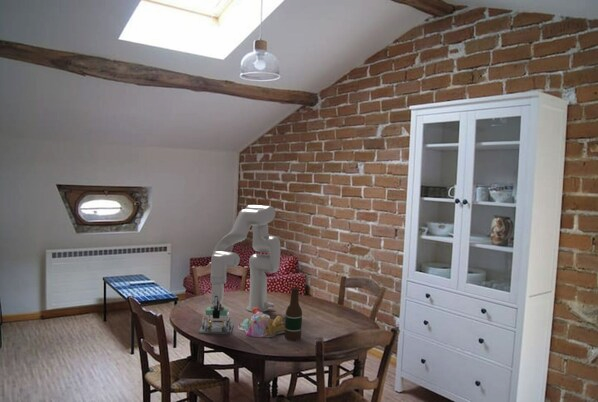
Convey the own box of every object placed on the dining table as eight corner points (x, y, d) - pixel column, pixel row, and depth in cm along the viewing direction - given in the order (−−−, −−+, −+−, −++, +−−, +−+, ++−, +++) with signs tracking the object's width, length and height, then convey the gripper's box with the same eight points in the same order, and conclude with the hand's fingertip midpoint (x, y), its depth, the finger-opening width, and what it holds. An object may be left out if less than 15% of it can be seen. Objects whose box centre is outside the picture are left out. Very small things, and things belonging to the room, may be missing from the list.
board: (228, 312, 221) (228, 306, 221) (226, 315, 215) (226, 309, 215) (207, 311, 220) (207, 305, 220) (205, 315, 214) (205, 308, 214)
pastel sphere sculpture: (294, 327, 227) (295, 309, 226) (273, 342, 205) (274, 322, 205) (251, 319, 237) (252, 302, 236) (227, 332, 215) (227, 313, 215)
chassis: (233, 325, 224) (233, 314, 224) (230, 334, 212) (231, 321, 212) (203, 324, 224) (203, 313, 223) (198, 333, 212) (199, 320, 211)
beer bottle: (284, 335, 214) (286, 285, 213) (300, 335, 215) (302, 285, 214) (285, 341, 206) (287, 289, 205) (301, 341, 207) (304, 289, 206)
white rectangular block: (228, 318, 235) (229, 312, 235) (228, 321, 231) (228, 314, 231) (213, 318, 235) (213, 311, 234) (212, 320, 231) (212, 313, 231)
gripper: (213, 275, 225) (212, 310, 226) (207, 283, 208) (206, 321, 209) (228, 276, 226) (226, 311, 226) (223, 283, 208) (222, 322, 209)
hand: (217, 315), depth 218 cm, fingers closed on board, 6 cm apart
